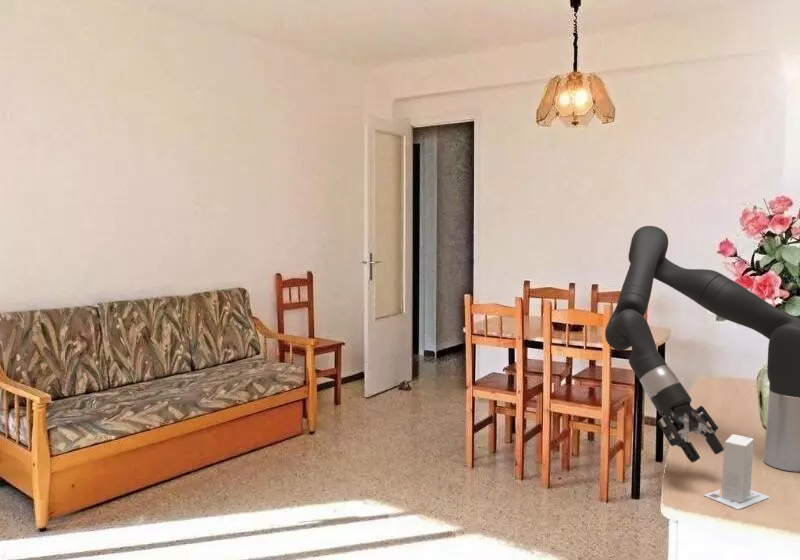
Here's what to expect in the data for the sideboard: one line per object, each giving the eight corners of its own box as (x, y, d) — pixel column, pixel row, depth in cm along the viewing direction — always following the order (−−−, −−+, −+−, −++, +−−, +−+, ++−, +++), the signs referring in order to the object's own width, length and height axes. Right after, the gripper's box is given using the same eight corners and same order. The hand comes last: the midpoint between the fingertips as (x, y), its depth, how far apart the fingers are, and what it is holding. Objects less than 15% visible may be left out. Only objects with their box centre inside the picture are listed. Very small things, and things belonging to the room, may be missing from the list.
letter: (735, 484, 146) (735, 484, 146) (769, 497, 140) (769, 496, 140) (703, 496, 140) (703, 495, 140) (738, 510, 134) (738, 509, 134)
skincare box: (728, 488, 144) (732, 433, 142) (750, 494, 141) (754, 438, 140) (720, 497, 139) (724, 440, 138) (742, 503, 136) (747, 445, 135)
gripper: (673, 394, 159) (715, 457, 151) (633, 403, 151) (675, 471, 143) (695, 377, 154) (740, 442, 146) (655, 386, 146) (700, 455, 138)
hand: (708, 456), depth 144 cm, fingers open, 8 cm apart
